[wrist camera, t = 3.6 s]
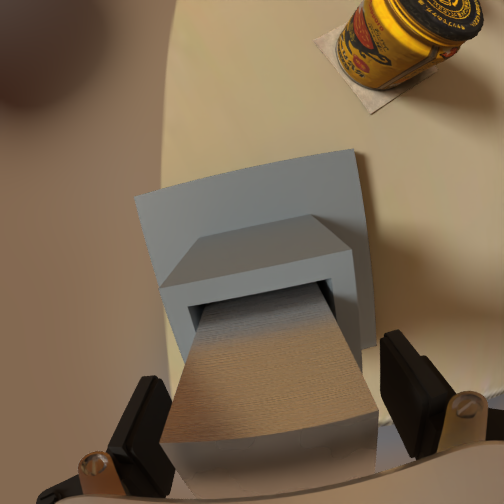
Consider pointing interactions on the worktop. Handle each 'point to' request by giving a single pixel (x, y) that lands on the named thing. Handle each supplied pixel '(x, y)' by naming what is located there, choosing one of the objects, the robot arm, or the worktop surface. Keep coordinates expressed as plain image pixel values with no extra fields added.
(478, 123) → the worktop surface
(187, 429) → the block
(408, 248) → the worktop surface
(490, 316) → the worktop surface
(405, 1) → the condiment
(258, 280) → the sleeve
